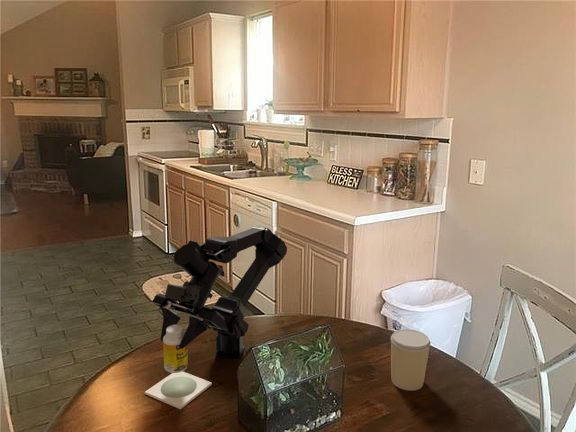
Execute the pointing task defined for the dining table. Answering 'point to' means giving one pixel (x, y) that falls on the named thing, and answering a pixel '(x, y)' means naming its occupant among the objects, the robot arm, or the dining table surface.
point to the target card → (178, 389)
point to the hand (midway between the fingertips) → (171, 344)
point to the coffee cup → (409, 358)
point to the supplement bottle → (174, 350)
